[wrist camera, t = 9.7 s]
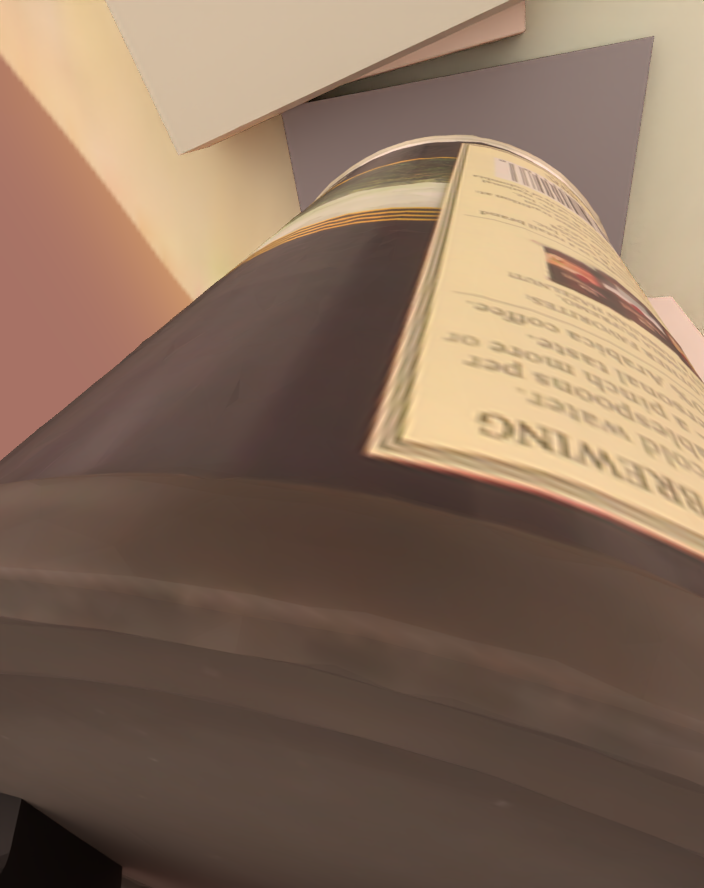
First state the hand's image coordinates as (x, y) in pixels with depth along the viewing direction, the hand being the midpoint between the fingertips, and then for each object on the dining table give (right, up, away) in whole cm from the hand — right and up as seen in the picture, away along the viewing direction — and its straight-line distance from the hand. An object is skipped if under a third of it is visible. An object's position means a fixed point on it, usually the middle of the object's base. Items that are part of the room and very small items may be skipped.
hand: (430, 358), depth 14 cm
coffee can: (+1, +1, +2) cm, 2 cm away
